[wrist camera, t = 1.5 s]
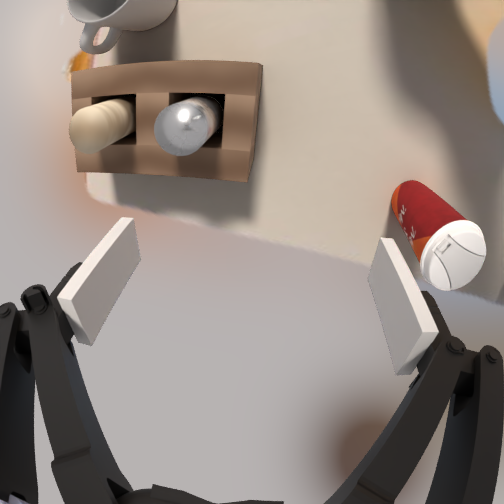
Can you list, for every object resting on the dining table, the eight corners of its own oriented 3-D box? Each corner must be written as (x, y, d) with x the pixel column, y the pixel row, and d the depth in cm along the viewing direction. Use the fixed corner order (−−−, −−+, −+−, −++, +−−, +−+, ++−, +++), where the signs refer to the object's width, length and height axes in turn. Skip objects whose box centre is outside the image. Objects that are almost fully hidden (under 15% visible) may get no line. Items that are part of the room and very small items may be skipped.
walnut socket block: (106, 68, 30) (71, 71, 24) (262, 65, 30) (258, 63, 23) (108, 152, 37) (77, 172, 30) (253, 160, 37) (247, 182, 30)
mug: (135, -32, 22) (91, -54, 13) (191, -17, 24) (158, -44, 15) (94, 45, 28) (41, 46, 19) (144, 64, 30) (98, 66, 21)
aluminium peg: (182, 94, 28) (154, 103, 21) (225, 96, 28) (208, 104, 21) (181, 134, 31) (154, 154, 24) (222, 137, 30) (205, 157, 24)
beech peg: (108, 97, 28) (67, 109, 22) (143, 95, 28) (107, 105, 21) (109, 134, 31) (71, 154, 24) (143, 134, 31) (109, 154, 24)
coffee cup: (371, 204, 38) (409, 271, 26) (410, 160, 34) (468, 211, 22) (409, 236, 41) (449, 306, 28) (445, 197, 36) (500, 256, 24)
